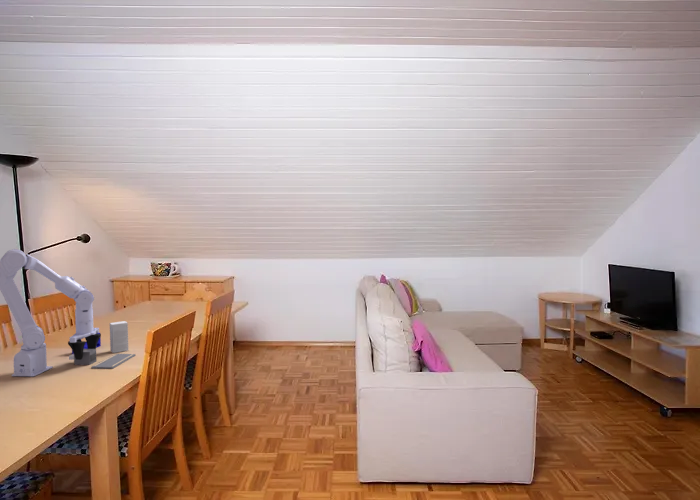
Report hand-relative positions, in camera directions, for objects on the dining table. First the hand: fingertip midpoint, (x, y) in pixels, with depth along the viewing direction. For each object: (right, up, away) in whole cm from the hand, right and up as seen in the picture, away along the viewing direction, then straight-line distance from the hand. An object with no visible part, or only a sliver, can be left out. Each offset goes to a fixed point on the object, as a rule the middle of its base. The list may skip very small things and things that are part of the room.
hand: (85, 356), depth 161 cm
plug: (-1, -3, 0) cm, 3 cm away
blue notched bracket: (-11, -2, +17) cm, 20 cm away
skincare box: (+4, -2, +16) cm, 17 cm away
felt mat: (+10, -3, +2) cm, 10 cm away
